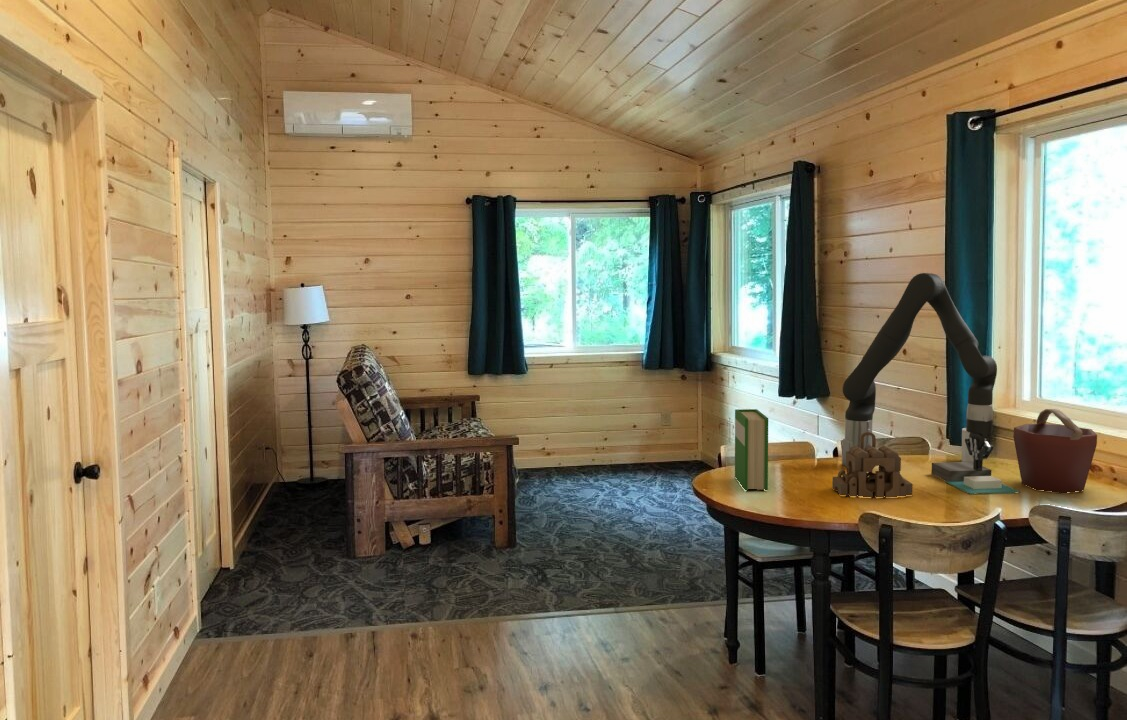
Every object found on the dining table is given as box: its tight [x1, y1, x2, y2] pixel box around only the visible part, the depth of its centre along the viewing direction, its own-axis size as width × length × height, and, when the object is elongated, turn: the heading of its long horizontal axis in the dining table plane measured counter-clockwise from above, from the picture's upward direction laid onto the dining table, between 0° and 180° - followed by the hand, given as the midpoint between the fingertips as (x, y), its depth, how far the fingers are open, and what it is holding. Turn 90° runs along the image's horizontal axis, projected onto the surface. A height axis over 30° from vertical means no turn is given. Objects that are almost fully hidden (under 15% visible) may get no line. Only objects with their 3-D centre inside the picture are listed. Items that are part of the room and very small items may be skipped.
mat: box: [944, 481, 1021, 495], centre depth 258 cm, size 16×15×1 cm
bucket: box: [1012, 408, 1098, 494], centre depth 256 cm, size 24×22×25 cm
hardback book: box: [734, 408, 769, 491], centre depth 265 cm, size 18×7×24 cm, turn 178°
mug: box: [961, 427, 974, 462], centre depth 291 cm, size 10×7×12 cm, turn 9°
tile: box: [964, 475, 1003, 489], centre depth 258 cm, size 9×6×2 cm, turn 93°
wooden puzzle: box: [831, 432, 913, 497], centre depth 254 cm, size 22×15×19 cm, turn 87°
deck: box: [930, 461, 992, 482], centre depth 270 cm, size 14×12×4 cm
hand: (977, 470), depth 260 cm, fingers closed
